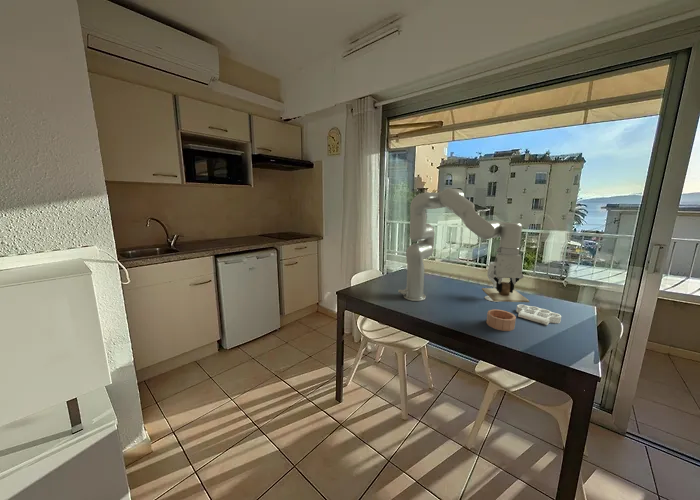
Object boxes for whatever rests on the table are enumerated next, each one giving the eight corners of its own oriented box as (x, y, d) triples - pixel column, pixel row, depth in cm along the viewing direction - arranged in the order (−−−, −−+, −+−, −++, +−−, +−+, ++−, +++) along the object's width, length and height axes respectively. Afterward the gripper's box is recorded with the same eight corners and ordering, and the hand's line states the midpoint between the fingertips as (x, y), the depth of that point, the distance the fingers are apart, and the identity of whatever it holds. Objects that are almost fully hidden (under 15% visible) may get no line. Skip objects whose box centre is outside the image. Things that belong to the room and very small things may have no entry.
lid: (493, 301, 112) (495, 288, 111) (481, 289, 126) (482, 278, 125) (529, 302, 110) (531, 289, 109) (513, 290, 124) (514, 278, 123)
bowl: (492, 330, 116) (493, 319, 115) (483, 318, 127) (484, 309, 126) (519, 331, 115) (520, 320, 114) (507, 319, 126) (508, 310, 125)
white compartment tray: (510, 316, 131) (520, 307, 140) (555, 329, 117) (563, 319, 127) (511, 309, 130) (521, 302, 139) (556, 322, 117) (564, 312, 126)
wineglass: (495, 303, 145) (499, 266, 141) (481, 297, 153) (484, 262, 149) (505, 300, 149) (509, 264, 145) (490, 295, 157) (494, 260, 153)
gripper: (491, 252, 112) (487, 294, 115) (534, 253, 109) (529, 295, 113) (485, 249, 119) (481, 288, 122) (525, 249, 117) (520, 289, 120)
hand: (504, 291), depth 118 cm, fingers closed on lid, 4 cm apart
